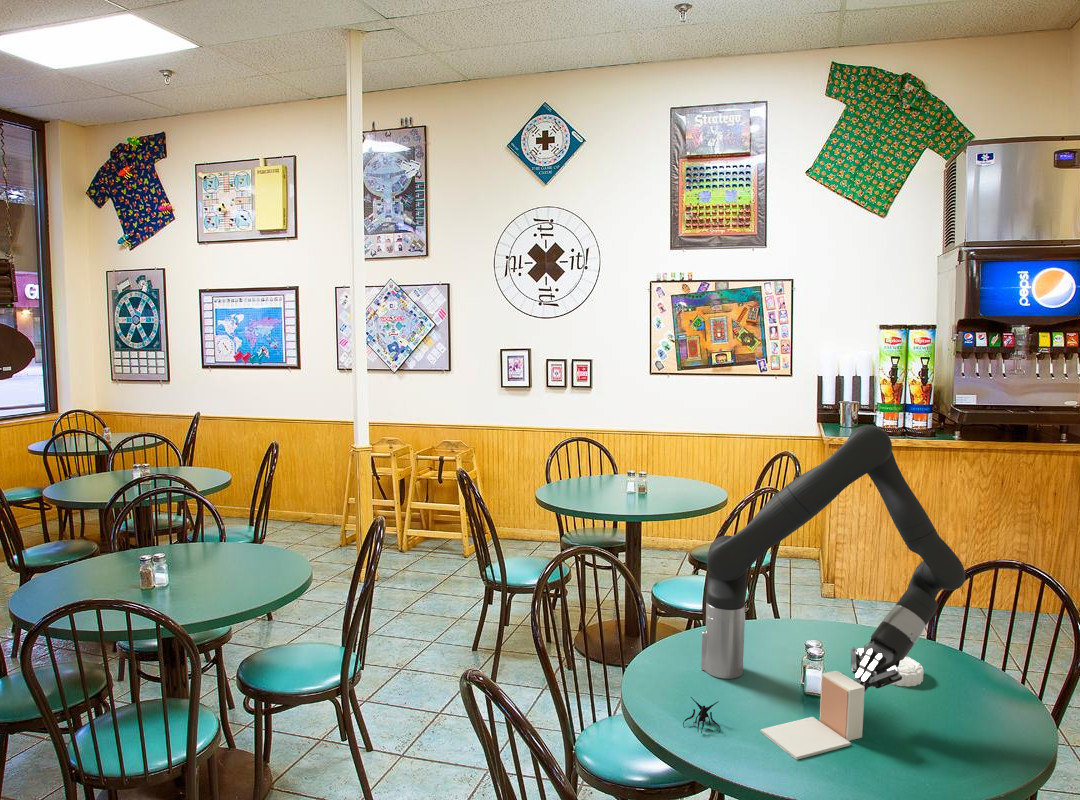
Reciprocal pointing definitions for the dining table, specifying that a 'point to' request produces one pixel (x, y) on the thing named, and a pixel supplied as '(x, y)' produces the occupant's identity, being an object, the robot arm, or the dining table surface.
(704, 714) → the creature
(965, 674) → the dining table surface
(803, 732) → the mat
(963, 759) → the dining table surface
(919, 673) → the mooncake
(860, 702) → the cream rectangular block
